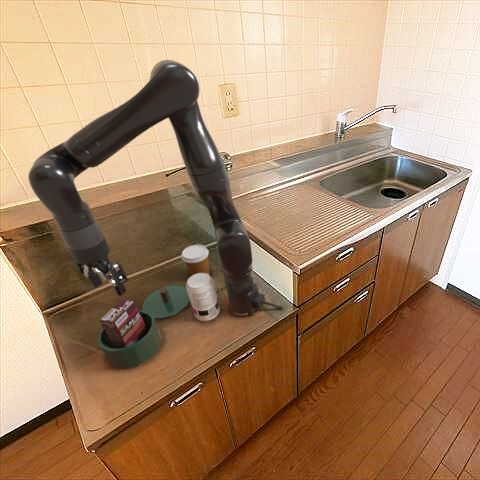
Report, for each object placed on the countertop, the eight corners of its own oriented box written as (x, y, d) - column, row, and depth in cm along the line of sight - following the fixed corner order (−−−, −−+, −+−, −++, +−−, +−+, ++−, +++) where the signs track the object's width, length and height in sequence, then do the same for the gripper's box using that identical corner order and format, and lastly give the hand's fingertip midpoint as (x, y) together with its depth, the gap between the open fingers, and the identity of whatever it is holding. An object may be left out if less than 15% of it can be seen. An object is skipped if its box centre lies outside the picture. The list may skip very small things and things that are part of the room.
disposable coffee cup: (203, 287, 118) (196, 261, 111) (182, 280, 121) (174, 255, 114) (218, 271, 125) (213, 247, 118) (198, 265, 128) (192, 241, 121)
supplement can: (190, 318, 105) (179, 285, 97) (205, 301, 112) (196, 269, 103) (210, 325, 103) (201, 292, 95) (225, 307, 110) (217, 275, 101)
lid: (200, 293, 115) (196, 281, 112) (170, 325, 103) (165, 312, 99) (165, 283, 119) (161, 271, 116) (132, 313, 107) (126, 300, 104)
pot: (172, 335, 100) (165, 317, 95) (136, 375, 88) (126, 357, 84) (136, 322, 104) (127, 305, 99) (96, 359, 92) (85, 341, 88)
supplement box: (133, 360, 92) (113, 323, 83) (118, 357, 93) (97, 320, 84) (152, 336, 99) (135, 300, 90) (138, 333, 100) (120, 297, 91)
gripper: (48, 241, 74) (77, 292, 84) (93, 255, 70) (118, 306, 80) (78, 226, 80) (102, 274, 89) (121, 237, 76) (141, 287, 85)
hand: (109, 289), depth 85 cm, fingers open, 8 cm apart
